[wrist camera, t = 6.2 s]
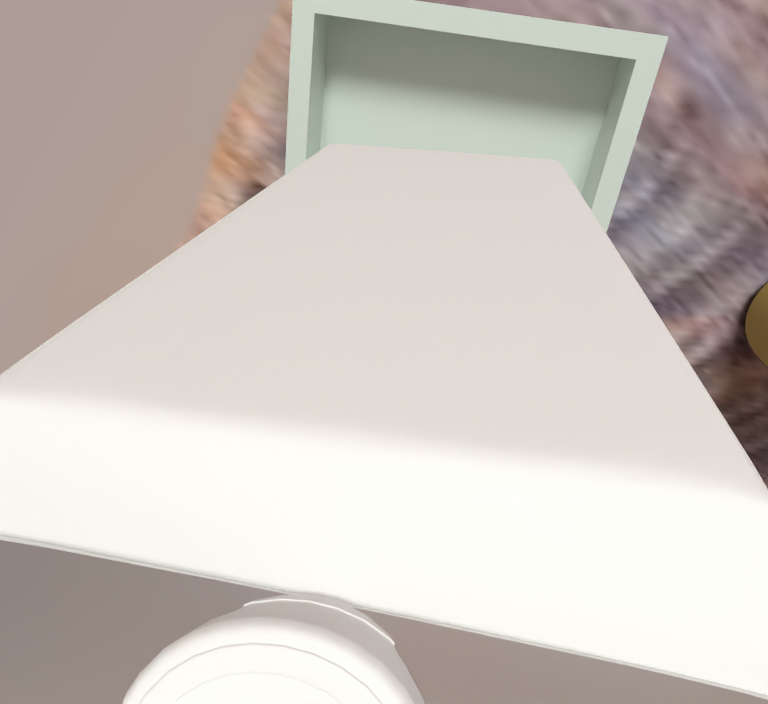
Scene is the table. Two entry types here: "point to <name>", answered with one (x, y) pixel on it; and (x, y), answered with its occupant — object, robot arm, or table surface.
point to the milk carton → (396, 437)
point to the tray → (470, 86)
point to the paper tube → (758, 324)
